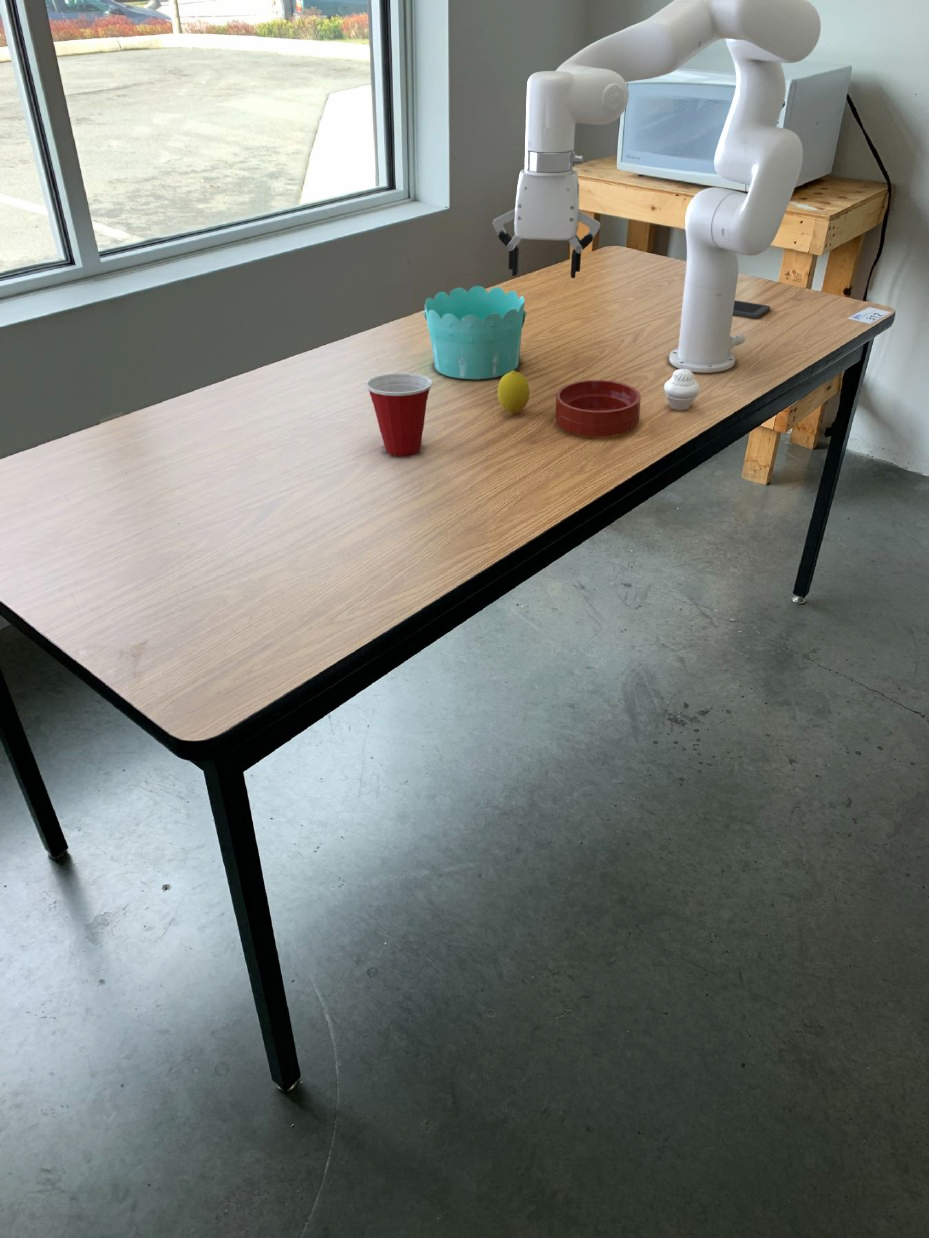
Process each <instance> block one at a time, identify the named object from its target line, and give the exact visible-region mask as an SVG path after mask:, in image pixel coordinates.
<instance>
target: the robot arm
mask: <svg viewBox="0 0 929 1238" xmlns="http://www.w3.org/2000/svg"><path fill="white" fill-rule="evenodd" d="M821 25H822V24H821V18H820V15H819V12H818V10H817V8H816V7H815V5H813V4H812V3H811V2H810V1H808V0H672V1H671V2H670V3H669V4H667V5H666V6H664V7H663V8H661V9H659V10H658V11H657V12H656V13H654V14H653V15H652V16H650V17H648V18H647V19H645V20H642V21H640V22H638V23H635V24H633V25H630V26H627V27H626V28H624V29H622V30H619V31H617V32H614V33H612V34H609V35H607V36H604V37H602V38H601V39H598V40H596V41H594V42H592V43H591V44H588V45H587V46H584V48H582V49H581V50H579V51H578V52H577V53H575V54H573V55H572V56H571V57H569V58H568V59H566V60H564V62H562V63H561V64H560V65H559V66H558V67H557V68H556V70H542V71H537V72H534V73H532V74H531V75H530V76H529V77H528V79H527V83H526V84H527V85H526V105H525V107H526V109H525V112H526V113H525V142H524V143H525V144H524V145H525V146H524V168H523V169H521V170H520V172H519V176H518V182H517V186H516V187H517V189H516V197H515V207H514V208H513V209H511V210H509V211H508V212H505V213H504V214H501V215H500V216H498V217H495V218H494V219H493V221H492V226H493V229H494V230H495V233H496V234H497V237H498V240H500V242H501V243H502V244H503V245H504V246H505V247H506V249H507V251H508V270H512V271H511V276H512V277H516V276H518V274H519V263H520V261H519V259H520V258H519V257H520V248H519V246H518V245H519V244H520V242H522V240H534V241H567V242H568V243H569V244H570V246H571V247H572V248H573V249H572V252H571V261H570V278H571V279H575V278H576V274H577V273H579V272H581V262H582V261H581V260H582V253H583V251H584V250H585V249H586V248H587V247H588V246H589V245H590V244H591V243H592V242H593V240H594V239H595V237H596V235H598V232H599V230H600V228H601V223H600V221H598V220H596V219H595V218H593V217H591V216H590V215H588V214H587V213H585V212H583V211H581V210H580V185H579V184H580V183H579V174H578V171H577V170H574V167H575V166H578V165H583V158H584V157H583V156H584V155H583V154H579V153H576V152H575V136H576V135H575V134H576V125H577V124H586V125H587V124H588V125H596V126H597V125H598V126H600V125H601V126H602V125H608V124H611V123H613V122H614V121H616V120H617V119H619V118H620V117H621V116H622V115H623V113H624V112H625V110H626V109H627V107H628V103H629V97H630V93H629V87H628V84H627V83H630V82H635V81H644V80H650V79H654V78H659V77H662V76H666V75H669V74H671V73H673V72H675V71H677V70H678V69H679V68H680V67H682V66H683V65H684V64H686V63H688V62H689V60H691V59H693V58H694V57H695V56H696V55H698V54H699V53H701V52H702V51H704V50H705V49H707V48H708V47H709V46H710V45H712V44H713V43H715V42H717V41H719V40H723V39H724V40H725V43H726V46H727V49H728V51H729V54H730V56H731V59H732V62H733V65H734V70H735V90H734V94H733V98H732V101H731V105H730V108H729V110H728V113H727V116H726V119H725V123H724V125H723V128H722V131H721V134H720V137H719V140H718V142H717V146H716V149H715V153H714V158H713V167H714V171H715V172H716V174H717V175H718V176H720V177H721V178H722V179H724V180H727V181H729V182H733V183H738V184H741V185H746V186H749V189H748V192H747V193H745V192H742V191H737V190H733V189H729V188H724V187H707V188H705V189H702V190H701V191H698V192H697V193H696V194H695V195H694V196H693V197H692V198H691V200H690V201H689V204H688V205H687V208H686V212H685V217H684V227H685V229H684V230H685V238H686V239H685V240H686V264H685V265H686V267H685V275H684V277H685V278H684V285H683V286H684V287H683V294H682V295H683V296H682V307H681V318H680V325H679V326H680V327H679V338H678V347H677V348H675V349H673V350H671V352H670V353H669V356H668V362H669V363H670V364H671V365H672V366H674V367H675V368H677V369H688V370H690V371H691V372H692V373H701V374H703V373H704V374H710V373H711V374H712V373H720V372H723V371H727V370H729V369H731V368H732V367H734V365H736V356H735V355H734V353H733V352H732V349H734V347H736V346H739V345H742V344H744V343H745V339H746V338H745V336H744V334H743V333H739V334H736V335H733V336H732V335H731V332H732V331H731V330H732V324H733V316H734V314H733V309H734V301H735V300H736V293H737V285H738V279H739V278H738V277H739V260H738V259H739V258H738V254H739V255H744V256H750V257H751V256H757V255H760V254H762V253H764V252H765V251H767V250H768V248H769V247H770V246H771V245H772V243H773V242H774V240H775V238H776V237H777V234H778V232H779V230H780V228H781V225H782V222H783V219H784V217H785V215H786V212H787V208H788V206H789V204H790V201H791V198H792V196H793V194H794V191H795V188H796V186H797V182H798V179H799V177H800V175H801V170H802V167H803V161H804V150H803V149H804V148H803V143H802V141H801V139H800V137H799V136H798V135H797V133H796V132H794V131H793V130H790V129H788V128H785V127H784V128H783V127H779V126H778V123H779V119H780V115H781V112H782V110H783V107H784V102H785V100H786V99H785V98H786V92H787V91H786V87H787V86H786V85H787V84H786V78H785V77H786V76H785V72H784V68H783V66H782V64H795V63H798V62H801V61H803V60H804V59H806V58H807V57H808V56H809V55H811V53H813V51H814V49H815V48H816V46H817V44H818V42H819V40H820V35H821V28H822V27H821ZM513 220H514V225H513V227H514V235H513V236H511V235H510V234H509V233H508V232H507V231H506V229H505V227H504V226H505V225H506V224H507V223H509V222H511V221H513ZM579 222H580V223H581V224H583V225H584V226H586V227H588V228H589V229H588V231H587V233H586V234H585V235H584V236H583V237H582V238H580V237H579V235H578V234H577V232H578V230H579Z"/></svg>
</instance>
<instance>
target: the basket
mask: <svg viewBox="0 0 929 1238" xmlns="http://www.w3.org/2000/svg"><path fill="white" fill-rule="evenodd" d="M423 305H424V310H425V311H424V313H423V317H424V319H425V320H426V321H427V324H426V325H427V327H428V332H429V339H430V343H431V344H430V345H431V349H432V357H433V362H434V368H435V370H436V372H438V373H439V374H441V375H443V376H445V377H446V376H447V377H449V378H455V379H459V380H460V379H462V380H476V381H478V380H488V379H494V378H498V377H503V376H504V375H506V374H507V373H510V372H511V371H516V369H517V368H518V366H519V364H520V353H521V342H522V333H523V332H522V331H523V327H524V325H525V320H526V316H527V311H526V310H525V297H524V295H521V296H520V297H519V296H518V293H517V292H516V291H515V290H510V291H508V292H507V293H506V292H505V290H504V289H503V288H501V287H500V286H499V287H498V286H496V287H495V286H494V287H492V288H491V289H490V290H489V291H488V290H487V289H486V288H485V287H483V286H482V285H481V286H480V285H475V286H472V287H471V288H470V289H468V290H466V289H465V288H462V287H455V288H453V289H451V290H449V294H448V293H447V292H445V291H439V292H437V293H436V294H435V295H434V298H432V297H430V296H429V297H427V298H425V304H423Z"/></svg>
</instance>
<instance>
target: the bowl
mask: <svg viewBox="0 0 929 1238" xmlns="http://www.w3.org/2000/svg"><path fill="white" fill-rule="evenodd" d="M641 398H642V396H641V394H640V391H638V390H637V389H636V388H635V387H634V386H631V385H629V384H627V383H625V382H619V381H615V380H606V379H586V380H580V381H574V382H571V383H568V384H565V385H564V386H562V387H561V388H559V389H558V390H557V392H556V393H555V423H556V424H557V426H558V427H559V428H560V429H562V430H564V431H566V432H568V433H570V434H575V435H579V436H583V437H592V438H599V437H600V438H603V437H605V438H606V437H614V436H618V435H623V434H626V433H629V432H631V431H632V430H634V429H636V427H637V426H638V424H639V422H640V413H641V402H642V401H641V400H642V399H641Z"/></svg>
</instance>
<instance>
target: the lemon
mask: <svg viewBox="0 0 929 1238" xmlns="http://www.w3.org/2000/svg"><path fill="white" fill-rule="evenodd" d="M497 398H498V403H499V404H500V406H501V408H502V409H504V410H505V411H506V412H509V413H510V414H511V415H516V414H517V413H519V412H520V411H522V410H524V409H525V407H526V406H527V404H528V403H529V400H530V386H529V382H528V380H527V378H526V377H525V376H524V375H523V374H522V373H520V372H518V371H516V370H513V371H511V372H510V373H507V374H505V375H502V376H501V378H500V381H499V384H498V387H497Z"/></svg>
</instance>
